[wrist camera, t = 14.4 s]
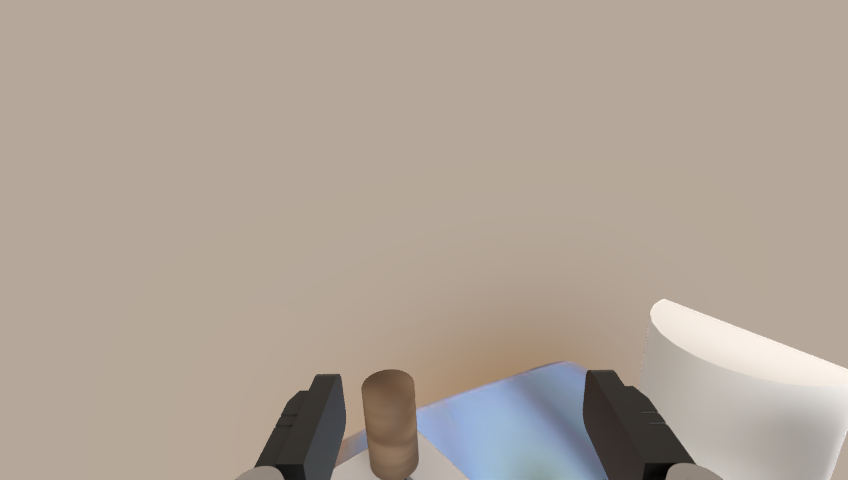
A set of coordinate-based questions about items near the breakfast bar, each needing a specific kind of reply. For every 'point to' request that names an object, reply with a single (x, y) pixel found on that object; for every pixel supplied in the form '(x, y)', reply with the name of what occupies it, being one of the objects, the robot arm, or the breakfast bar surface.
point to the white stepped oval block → (743, 398)
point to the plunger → (391, 424)
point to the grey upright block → (431, 476)
